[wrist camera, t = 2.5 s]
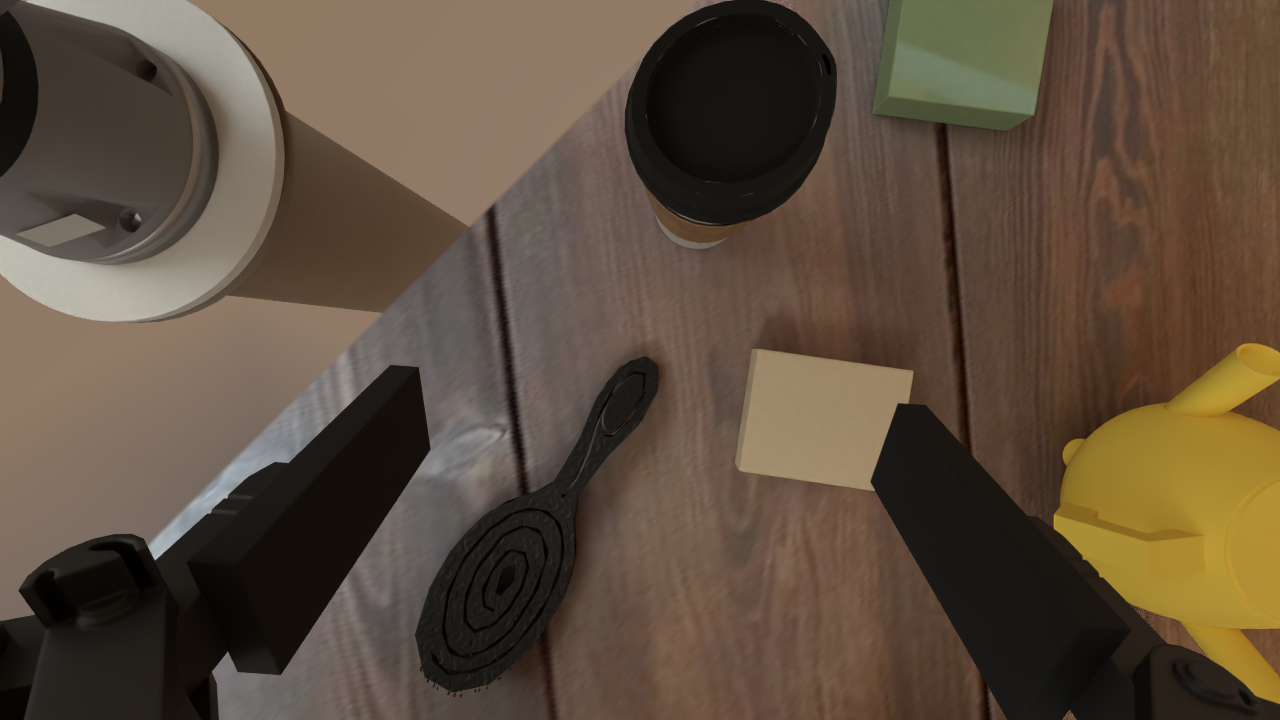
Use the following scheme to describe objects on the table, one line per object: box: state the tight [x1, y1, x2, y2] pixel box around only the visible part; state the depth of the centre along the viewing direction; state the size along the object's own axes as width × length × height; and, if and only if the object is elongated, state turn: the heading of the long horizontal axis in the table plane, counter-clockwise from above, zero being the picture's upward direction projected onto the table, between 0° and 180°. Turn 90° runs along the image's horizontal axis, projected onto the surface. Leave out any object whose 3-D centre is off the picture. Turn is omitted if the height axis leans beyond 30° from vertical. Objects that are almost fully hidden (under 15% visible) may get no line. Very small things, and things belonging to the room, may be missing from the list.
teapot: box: [1054, 343, 1280, 704], centre depth 28 cm, size 20×18×11 cm
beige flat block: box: [735, 348, 914, 491], centre depth 33 cm, size 10×8×2 cm
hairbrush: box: [415, 357, 658, 698], centre depth 33 cm, size 8×4×25 cm
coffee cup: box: [625, 0, 837, 249], centre depth 26 cm, size 8×8×15 cm
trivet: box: [872, 0, 1054, 131], centre depth 32 cm, size 9×9×2 cm
